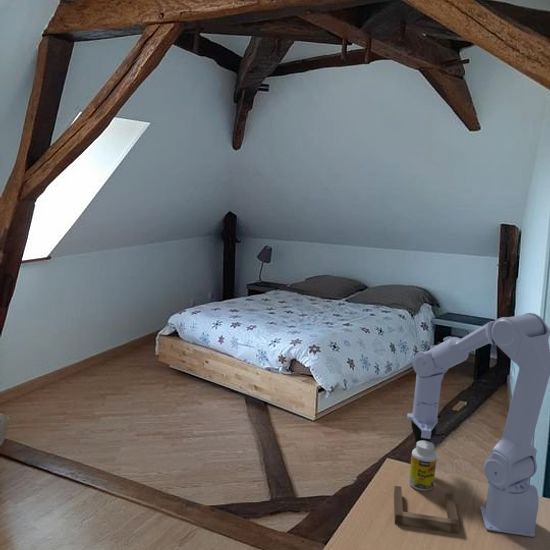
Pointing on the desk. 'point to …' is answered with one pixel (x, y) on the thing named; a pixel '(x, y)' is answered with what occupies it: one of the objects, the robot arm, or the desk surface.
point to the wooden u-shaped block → (425, 520)
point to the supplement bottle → (423, 466)
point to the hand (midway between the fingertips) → (420, 452)
